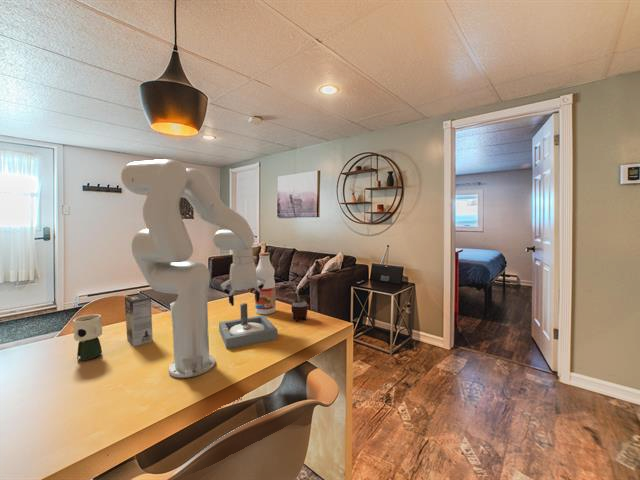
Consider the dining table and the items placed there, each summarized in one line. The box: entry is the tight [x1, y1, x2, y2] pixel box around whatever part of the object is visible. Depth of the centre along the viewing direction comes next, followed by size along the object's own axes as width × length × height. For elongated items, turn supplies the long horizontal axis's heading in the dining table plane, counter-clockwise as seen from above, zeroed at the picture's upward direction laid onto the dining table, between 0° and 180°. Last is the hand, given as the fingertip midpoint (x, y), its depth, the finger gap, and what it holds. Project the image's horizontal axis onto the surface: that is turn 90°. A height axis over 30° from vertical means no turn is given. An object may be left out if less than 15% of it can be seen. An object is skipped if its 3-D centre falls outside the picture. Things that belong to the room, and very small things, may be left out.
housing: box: [218, 314, 279, 350], centre depth 111 cm, size 18×18×4 cm
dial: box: [230, 302, 264, 336], centre depth 111 cm, size 13×13×9 cm
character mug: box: [72, 313, 103, 361], centre depth 93 cm, size 11×7×13 cm, turn 70°
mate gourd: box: [290, 282, 309, 323], centre depth 127 cm, size 8×8×15 cm
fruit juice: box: [254, 251, 277, 315], centre depth 138 cm, size 9×9×28 cm
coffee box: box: [124, 293, 154, 347], centre depth 106 cm, size 9×6×16 cm
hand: (244, 302), depth 115 cm, fingers open, 9 cm apart
